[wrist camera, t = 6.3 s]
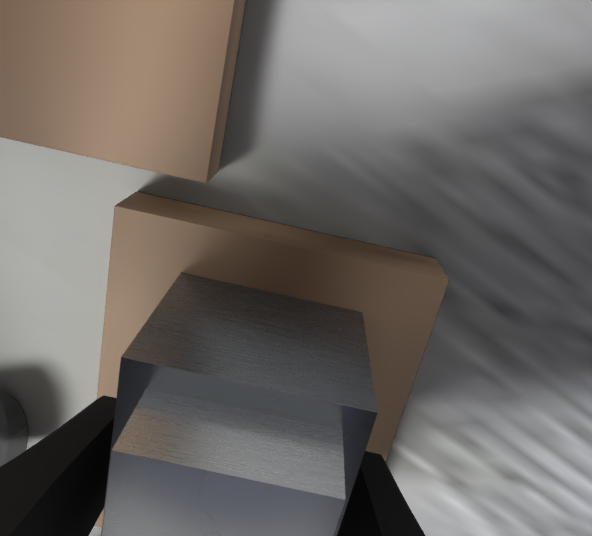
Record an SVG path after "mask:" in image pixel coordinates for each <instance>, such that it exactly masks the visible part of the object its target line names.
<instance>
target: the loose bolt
mask: <svg viewBox="0 0 592 536" xmlns="http://www.w3.org/2000/svg"><path fill="white" fill-rule="evenodd" d="M27 441H28V428H27V422H26V417H25V414H24V412H23V409H22V408H21V406H20V405H19V403H18V402H17V401H16V400H15V399H14V398H12V397H10V396H7V395H0V467H1V466H2V465H4V464H5V463H7V462H9V461H10V460H12V459H13V458H15V457H17V456H18V455H20V454H21V453H23V452H24V451H26V448H27Z"/></svg>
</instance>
